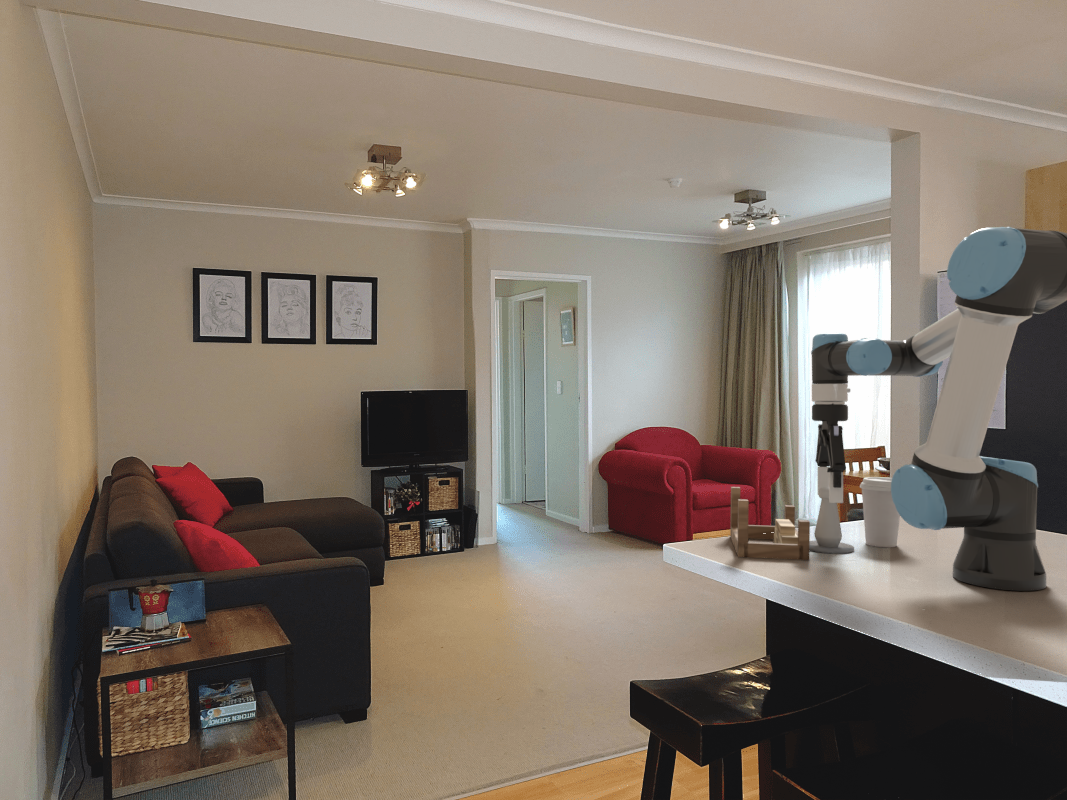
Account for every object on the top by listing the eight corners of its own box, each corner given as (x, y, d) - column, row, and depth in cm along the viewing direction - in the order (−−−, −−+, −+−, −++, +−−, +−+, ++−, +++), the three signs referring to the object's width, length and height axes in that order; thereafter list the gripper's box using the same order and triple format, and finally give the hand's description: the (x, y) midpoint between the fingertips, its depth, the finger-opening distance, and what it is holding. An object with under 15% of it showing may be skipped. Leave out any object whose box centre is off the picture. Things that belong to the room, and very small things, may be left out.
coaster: (859, 554, 169) (859, 551, 169) (806, 552, 171) (806, 549, 171) (848, 544, 180) (848, 541, 180) (798, 542, 182) (798, 539, 182)
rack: (809, 560, 164) (810, 502, 163) (738, 557, 166) (738, 500, 166) (793, 539, 185) (793, 488, 185) (730, 536, 188) (730, 486, 187)
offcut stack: (798, 555, 168) (798, 529, 168) (782, 554, 168) (782, 528, 168) (788, 542, 181) (789, 518, 181) (773, 541, 182) (774, 517, 182)
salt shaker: (812, 546, 174) (812, 488, 174) (816, 542, 179) (816, 485, 179) (840, 549, 171) (840, 490, 171) (843, 544, 176) (844, 487, 176)
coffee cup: (911, 549, 175) (913, 482, 175) (868, 548, 175) (869, 481, 175) (893, 540, 185) (894, 476, 184) (852, 539, 185) (853, 476, 184)
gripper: (861, 403, 162) (861, 506, 162) (835, 403, 186) (836, 492, 186) (822, 403, 163) (822, 505, 163) (802, 403, 187) (802, 491, 187)
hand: (829, 498), depth 174 cm, fingers open, 13 cm apart
